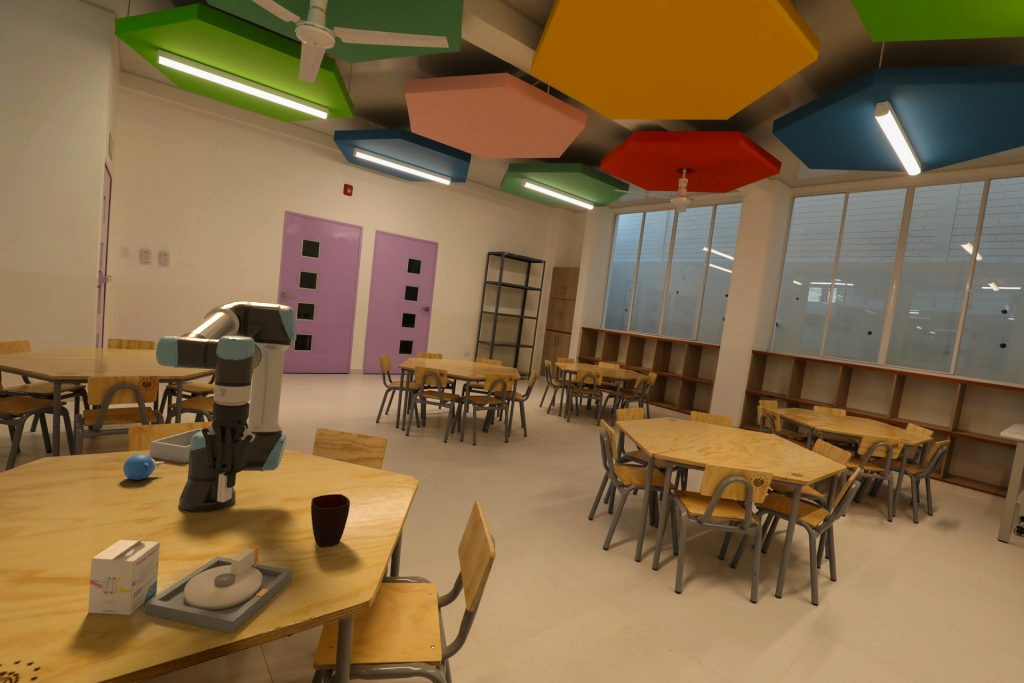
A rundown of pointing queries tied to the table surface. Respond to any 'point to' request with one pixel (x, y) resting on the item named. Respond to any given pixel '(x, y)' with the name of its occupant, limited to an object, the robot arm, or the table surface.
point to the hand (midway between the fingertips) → (224, 499)
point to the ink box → (123, 577)
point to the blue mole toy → (140, 466)
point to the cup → (329, 518)
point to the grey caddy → (173, 447)
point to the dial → (225, 583)
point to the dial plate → (226, 619)
